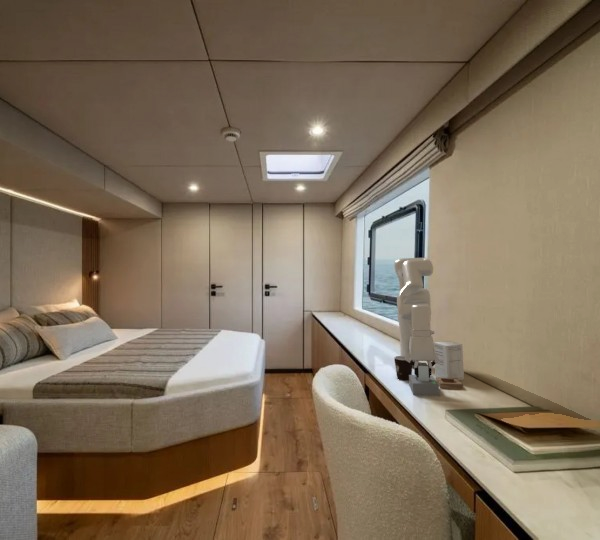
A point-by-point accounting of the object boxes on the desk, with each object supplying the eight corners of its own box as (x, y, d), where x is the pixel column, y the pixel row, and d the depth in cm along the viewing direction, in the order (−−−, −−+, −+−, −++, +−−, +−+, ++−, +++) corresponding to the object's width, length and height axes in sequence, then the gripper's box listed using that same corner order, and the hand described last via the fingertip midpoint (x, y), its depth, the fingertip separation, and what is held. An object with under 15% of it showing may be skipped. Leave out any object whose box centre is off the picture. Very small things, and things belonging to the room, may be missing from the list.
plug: (417, 382, 138) (416, 362, 139) (427, 382, 137) (426, 362, 138) (419, 385, 134) (418, 364, 135) (429, 385, 133) (428, 364, 134)
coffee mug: (415, 382, 148) (414, 360, 149) (395, 381, 150) (394, 359, 150) (411, 374, 160) (410, 354, 160) (393, 374, 161) (392, 354, 162)
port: (409, 386, 143) (408, 373, 143) (433, 387, 141) (432, 374, 141) (413, 395, 131) (412, 382, 131) (439, 396, 129) (438, 383, 129)
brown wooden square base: (435, 382, 147) (435, 377, 147) (457, 383, 145) (456, 378, 145) (440, 389, 138) (440, 383, 138) (462, 390, 136) (462, 384, 136)
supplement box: (450, 374, 158) (449, 340, 159) (464, 380, 149) (463, 343, 150) (434, 376, 156) (432, 341, 156) (447, 382, 147) (446, 345, 147)
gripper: (440, 332, 139) (441, 374, 138) (400, 332, 142) (401, 373, 141) (444, 335, 131) (446, 380, 131) (401, 334, 135) (403, 378, 134)
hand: (422, 376), depth 136 cm, fingers closed on plug, 4 cm apart
